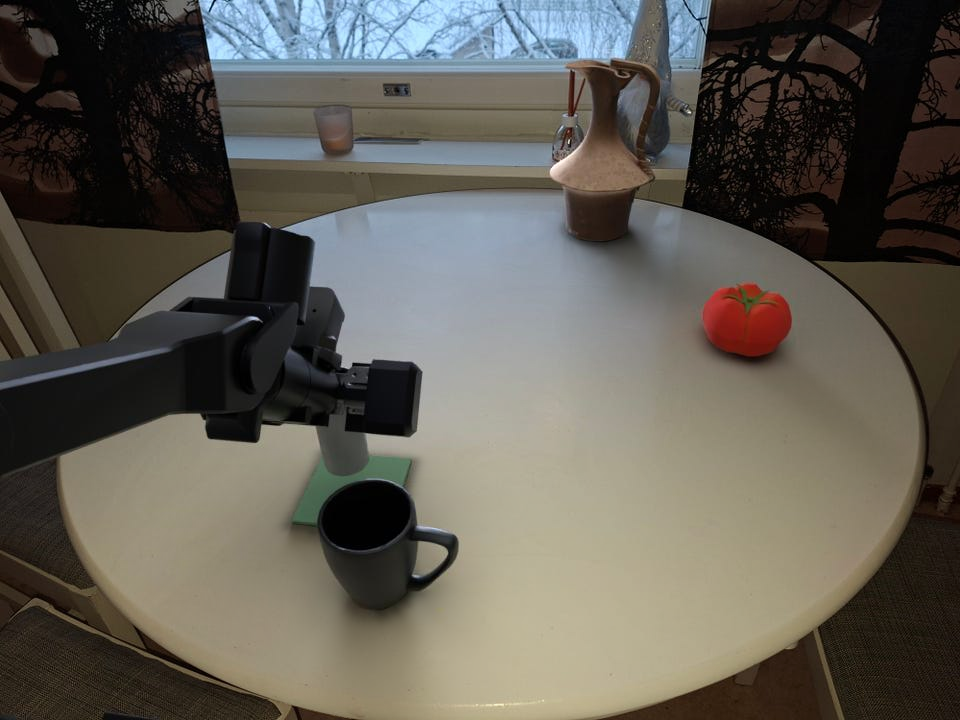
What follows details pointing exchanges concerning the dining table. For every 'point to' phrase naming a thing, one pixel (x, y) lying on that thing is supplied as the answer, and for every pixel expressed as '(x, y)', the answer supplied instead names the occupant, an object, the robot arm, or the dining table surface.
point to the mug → (377, 542)
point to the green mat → (329, 483)
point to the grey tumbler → (342, 444)
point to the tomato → (746, 319)
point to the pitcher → (606, 155)
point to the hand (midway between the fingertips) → (341, 402)
